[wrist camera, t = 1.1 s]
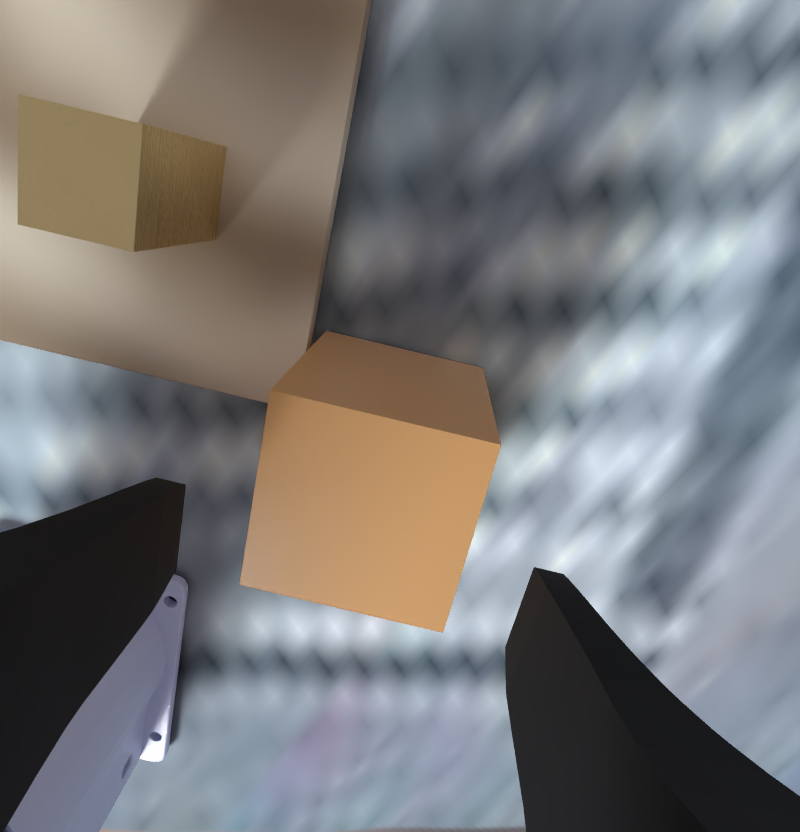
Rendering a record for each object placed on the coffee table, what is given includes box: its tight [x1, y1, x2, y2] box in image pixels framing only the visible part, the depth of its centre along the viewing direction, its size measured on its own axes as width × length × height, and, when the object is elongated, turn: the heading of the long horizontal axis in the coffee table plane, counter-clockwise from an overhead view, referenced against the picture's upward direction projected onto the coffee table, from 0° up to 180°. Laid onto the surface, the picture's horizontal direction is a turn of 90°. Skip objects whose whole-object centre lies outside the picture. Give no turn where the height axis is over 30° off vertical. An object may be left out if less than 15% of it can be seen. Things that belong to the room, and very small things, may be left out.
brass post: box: [18, 94, 227, 252], centre depth 15 cm, size 3×3×5 cm
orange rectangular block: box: [239, 331, 501, 633], centre depth 17 cm, size 5×5×7 cm
